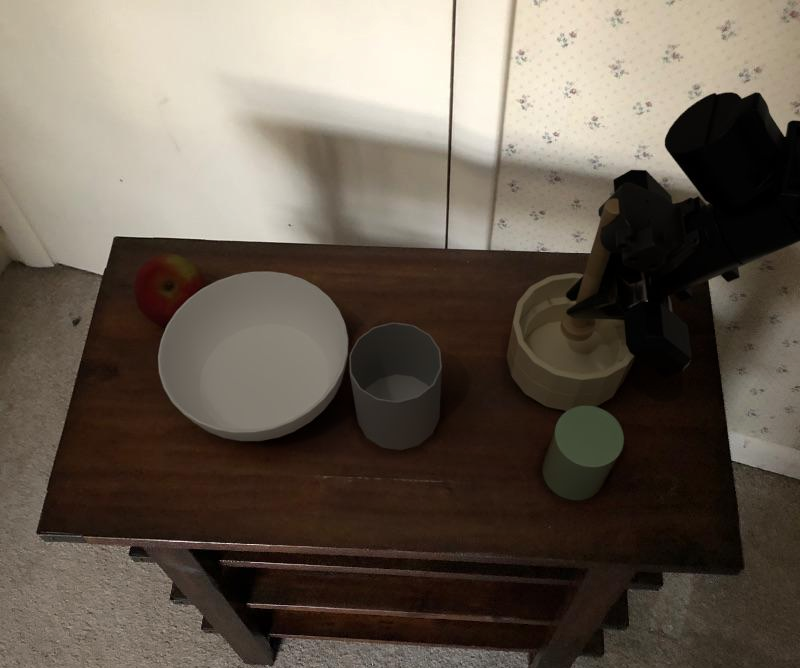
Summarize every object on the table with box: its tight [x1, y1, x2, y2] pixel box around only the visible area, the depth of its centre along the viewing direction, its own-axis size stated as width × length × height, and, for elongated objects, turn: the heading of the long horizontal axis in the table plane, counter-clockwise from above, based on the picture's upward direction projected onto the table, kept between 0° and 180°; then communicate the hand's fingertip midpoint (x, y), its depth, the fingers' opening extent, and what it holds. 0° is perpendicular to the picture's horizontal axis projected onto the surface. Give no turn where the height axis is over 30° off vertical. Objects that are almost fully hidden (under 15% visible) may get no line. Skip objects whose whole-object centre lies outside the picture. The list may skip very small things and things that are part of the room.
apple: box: [133, 253, 208, 329], centre depth 81 cm, size 8×8×8 cm
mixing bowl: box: [506, 272, 636, 412], centre depth 77 cm, size 12×12×7 cm
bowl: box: [157, 271, 349, 442], centre depth 76 cm, size 18×18×7 cm
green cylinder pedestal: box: [541, 406, 625, 501], centre depth 71 cm, size 6×6×8 cm
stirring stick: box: [560, 199, 619, 342], centre depth 67 cm, size 3×3×17 cm
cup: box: [348, 321, 443, 451], centre depth 73 cm, size 8×8×10 cm
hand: (568, 305), depth 71 cm, fingers closed on stirring stick
